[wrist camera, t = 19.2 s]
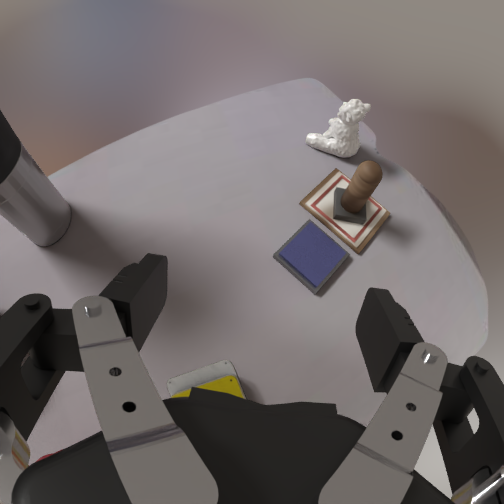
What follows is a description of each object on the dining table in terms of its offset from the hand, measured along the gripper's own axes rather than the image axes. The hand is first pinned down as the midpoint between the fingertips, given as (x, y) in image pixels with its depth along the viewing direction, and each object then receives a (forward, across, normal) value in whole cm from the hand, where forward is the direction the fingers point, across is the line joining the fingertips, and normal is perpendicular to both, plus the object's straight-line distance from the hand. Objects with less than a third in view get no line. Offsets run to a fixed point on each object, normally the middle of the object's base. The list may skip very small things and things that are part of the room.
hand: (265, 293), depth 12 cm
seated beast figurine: (+48, -11, -5) cm, 50 cm away
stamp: (+37, -13, +4) cm, 40 cm away
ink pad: (+32, -8, +11) cm, 34 cm away
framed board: (+38, -13, +5) cm, 41 cm away
